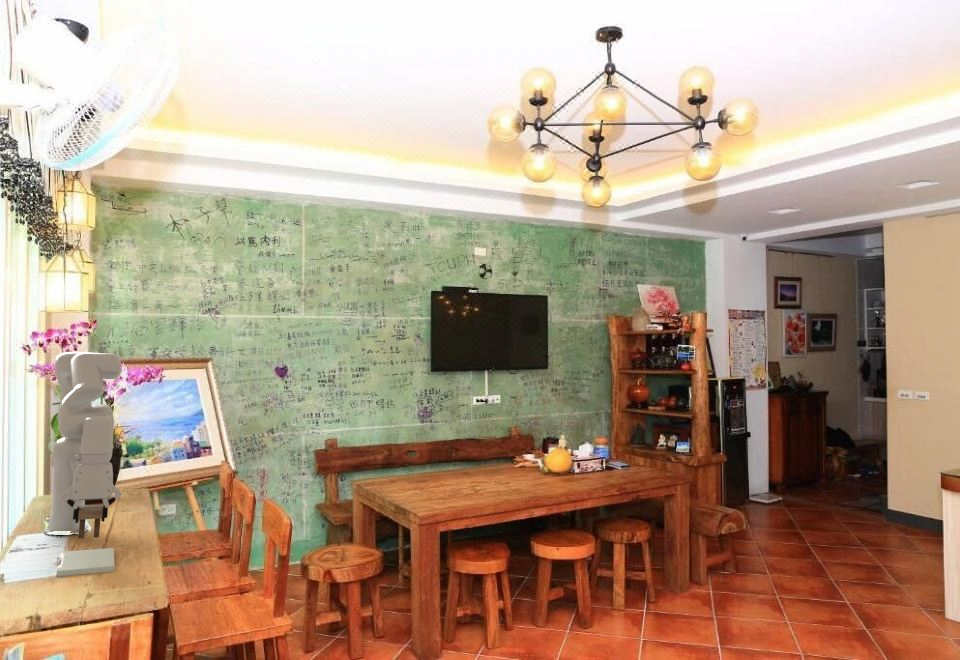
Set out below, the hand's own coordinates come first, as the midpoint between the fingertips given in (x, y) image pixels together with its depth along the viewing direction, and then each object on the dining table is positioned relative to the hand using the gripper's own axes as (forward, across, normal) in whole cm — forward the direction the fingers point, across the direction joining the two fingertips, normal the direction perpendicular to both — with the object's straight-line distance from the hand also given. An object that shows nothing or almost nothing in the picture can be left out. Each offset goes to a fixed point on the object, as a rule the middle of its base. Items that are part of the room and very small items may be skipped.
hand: (90, 520), depth 199 cm
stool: (+4, 0, 0) cm, 4 cm away
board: (+13, 0, 0) cm, 13 cm away
